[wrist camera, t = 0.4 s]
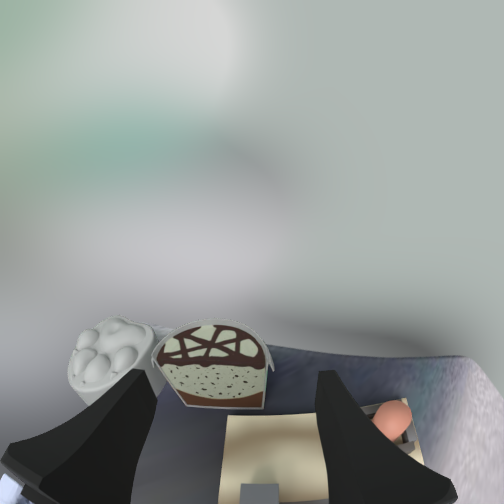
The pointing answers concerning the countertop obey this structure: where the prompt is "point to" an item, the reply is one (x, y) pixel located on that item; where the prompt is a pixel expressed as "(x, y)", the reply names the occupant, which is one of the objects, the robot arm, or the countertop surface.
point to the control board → (286, 456)
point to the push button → (392, 419)
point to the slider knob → (259, 494)
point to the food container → (215, 364)
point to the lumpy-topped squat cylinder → (112, 357)
